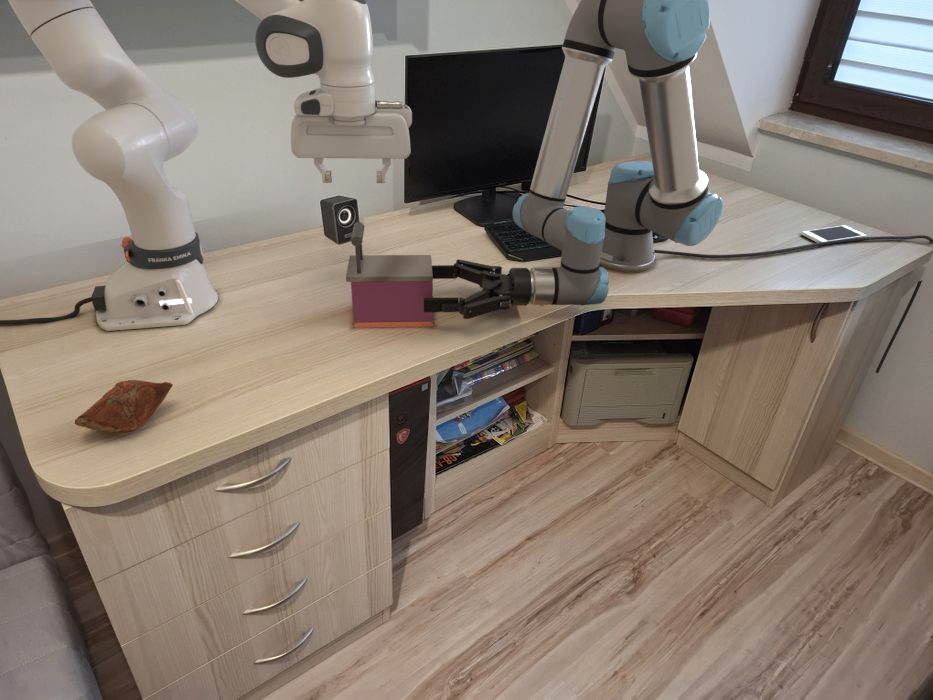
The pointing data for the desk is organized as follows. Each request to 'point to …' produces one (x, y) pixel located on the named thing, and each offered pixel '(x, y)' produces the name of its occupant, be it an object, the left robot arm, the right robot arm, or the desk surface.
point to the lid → (385, 264)
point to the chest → (391, 304)
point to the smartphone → (832, 234)
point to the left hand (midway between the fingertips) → (354, 182)
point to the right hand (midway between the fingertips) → (422, 287)
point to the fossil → (125, 406)
